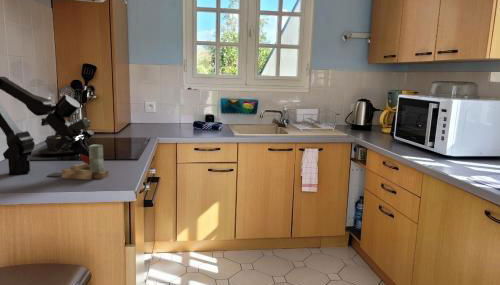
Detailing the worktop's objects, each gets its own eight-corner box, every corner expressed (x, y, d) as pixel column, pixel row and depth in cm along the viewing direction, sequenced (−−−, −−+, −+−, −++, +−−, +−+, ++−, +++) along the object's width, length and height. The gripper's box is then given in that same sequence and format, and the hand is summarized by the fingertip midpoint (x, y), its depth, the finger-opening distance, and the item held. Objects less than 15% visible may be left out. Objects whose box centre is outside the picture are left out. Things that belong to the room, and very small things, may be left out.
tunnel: (62, 177, 142) (61, 167, 141) (74, 172, 150) (74, 162, 149) (90, 179, 141) (90, 168, 140) (101, 174, 149) (101, 164, 148)
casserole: (57, 159, 175) (56, 140, 174) (28, 155, 182) (27, 137, 181) (98, 150, 198) (97, 134, 197) (71, 147, 205) (70, 131, 204)
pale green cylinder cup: (85, 177, 143) (84, 146, 141) (92, 174, 148) (90, 144, 146) (102, 178, 142) (101, 146, 140) (108, 175, 147) (107, 144, 145)
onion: (91, 162, 169) (91, 144, 167) (98, 164, 165) (98, 146, 164) (79, 164, 164) (78, 146, 163) (85, 167, 160) (84, 148, 159)
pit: (46, 176, 143) (46, 175, 143) (54, 173, 148) (54, 172, 148) (59, 177, 143) (59, 176, 143) (67, 174, 148) (67, 172, 148)
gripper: (60, 113, 133) (92, 145, 133) (88, 109, 151) (116, 138, 152) (40, 135, 135) (72, 167, 135) (70, 128, 153) (98, 157, 154)
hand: (91, 156), depth 144 cm, fingers closed, pressing on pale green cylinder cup
